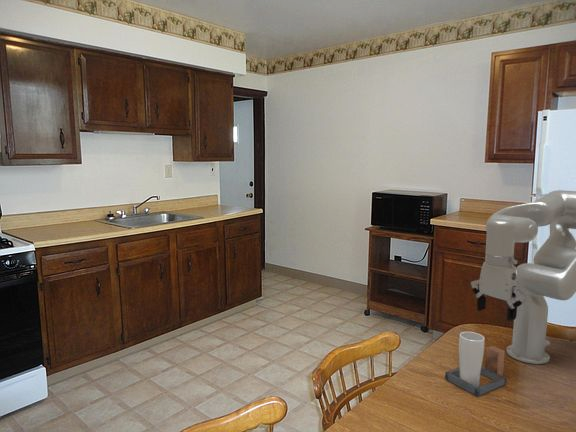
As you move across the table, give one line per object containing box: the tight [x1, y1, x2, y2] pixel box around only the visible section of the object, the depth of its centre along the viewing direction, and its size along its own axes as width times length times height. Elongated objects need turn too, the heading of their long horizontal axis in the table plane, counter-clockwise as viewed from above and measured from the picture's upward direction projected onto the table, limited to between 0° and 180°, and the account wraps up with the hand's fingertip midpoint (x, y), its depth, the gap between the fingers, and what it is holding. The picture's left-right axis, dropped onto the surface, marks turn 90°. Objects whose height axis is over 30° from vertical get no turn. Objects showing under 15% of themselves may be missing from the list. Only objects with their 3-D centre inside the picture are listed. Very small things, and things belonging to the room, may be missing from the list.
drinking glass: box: [458, 331, 486, 387], centre depth 120 cm, size 7×7×15 cm
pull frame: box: [444, 345, 507, 397], centre depth 123 cm, size 17×11×8 cm, turn 119°
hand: (495, 314), depth 126 cm, fingers open, 9 cm apart
